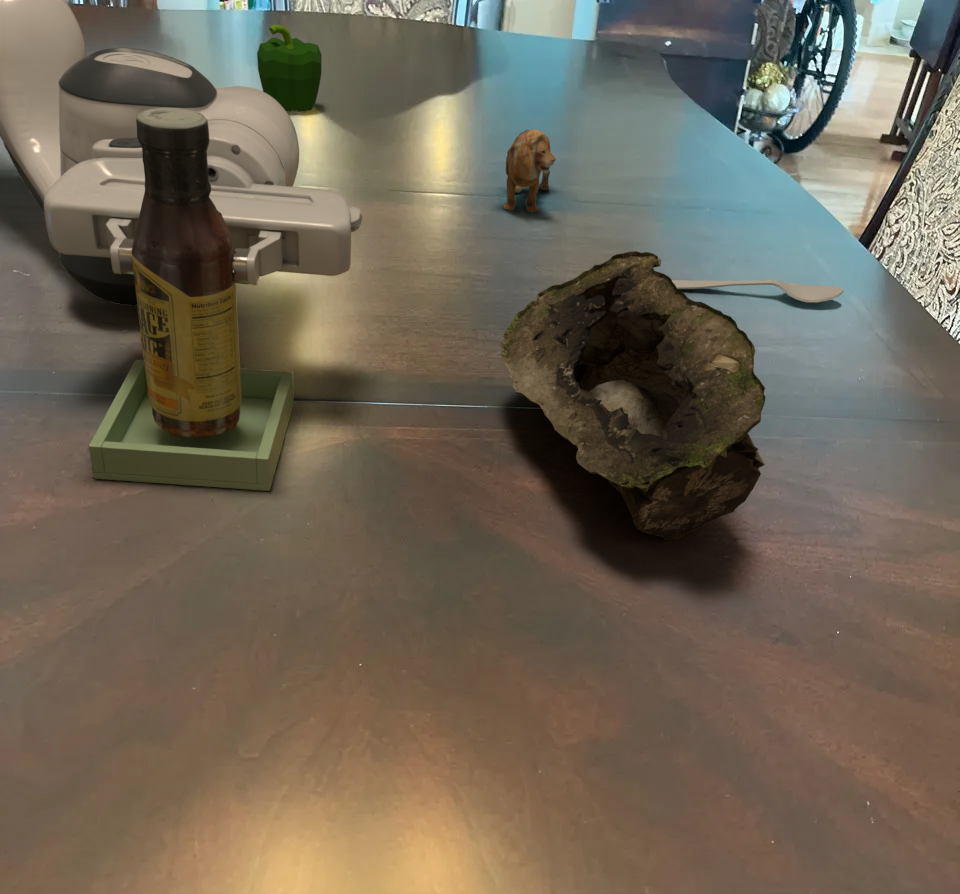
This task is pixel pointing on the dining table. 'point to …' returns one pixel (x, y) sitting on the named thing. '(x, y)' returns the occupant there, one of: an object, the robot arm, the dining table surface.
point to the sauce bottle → (185, 281)
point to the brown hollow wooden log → (644, 390)
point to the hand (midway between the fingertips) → (182, 267)
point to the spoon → (794, 290)
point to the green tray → (195, 461)
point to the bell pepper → (290, 70)
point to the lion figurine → (528, 167)
